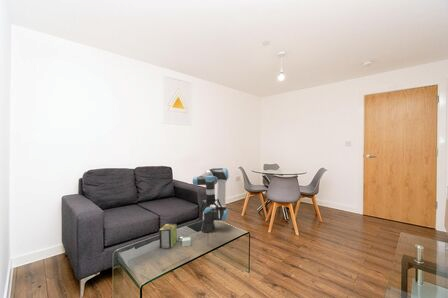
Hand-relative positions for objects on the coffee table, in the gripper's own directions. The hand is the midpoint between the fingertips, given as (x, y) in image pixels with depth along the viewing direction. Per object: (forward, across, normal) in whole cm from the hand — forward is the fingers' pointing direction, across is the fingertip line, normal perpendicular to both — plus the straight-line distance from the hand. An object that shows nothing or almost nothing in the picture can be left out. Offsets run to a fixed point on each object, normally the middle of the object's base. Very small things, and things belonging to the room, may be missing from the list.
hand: (211, 218), depth 175 cm
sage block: (+24, -22, +10) cm, 34 cm away
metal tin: (+24, -26, +19) cm, 40 cm away
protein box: (+24, -38, +15) cm, 47 cm away
